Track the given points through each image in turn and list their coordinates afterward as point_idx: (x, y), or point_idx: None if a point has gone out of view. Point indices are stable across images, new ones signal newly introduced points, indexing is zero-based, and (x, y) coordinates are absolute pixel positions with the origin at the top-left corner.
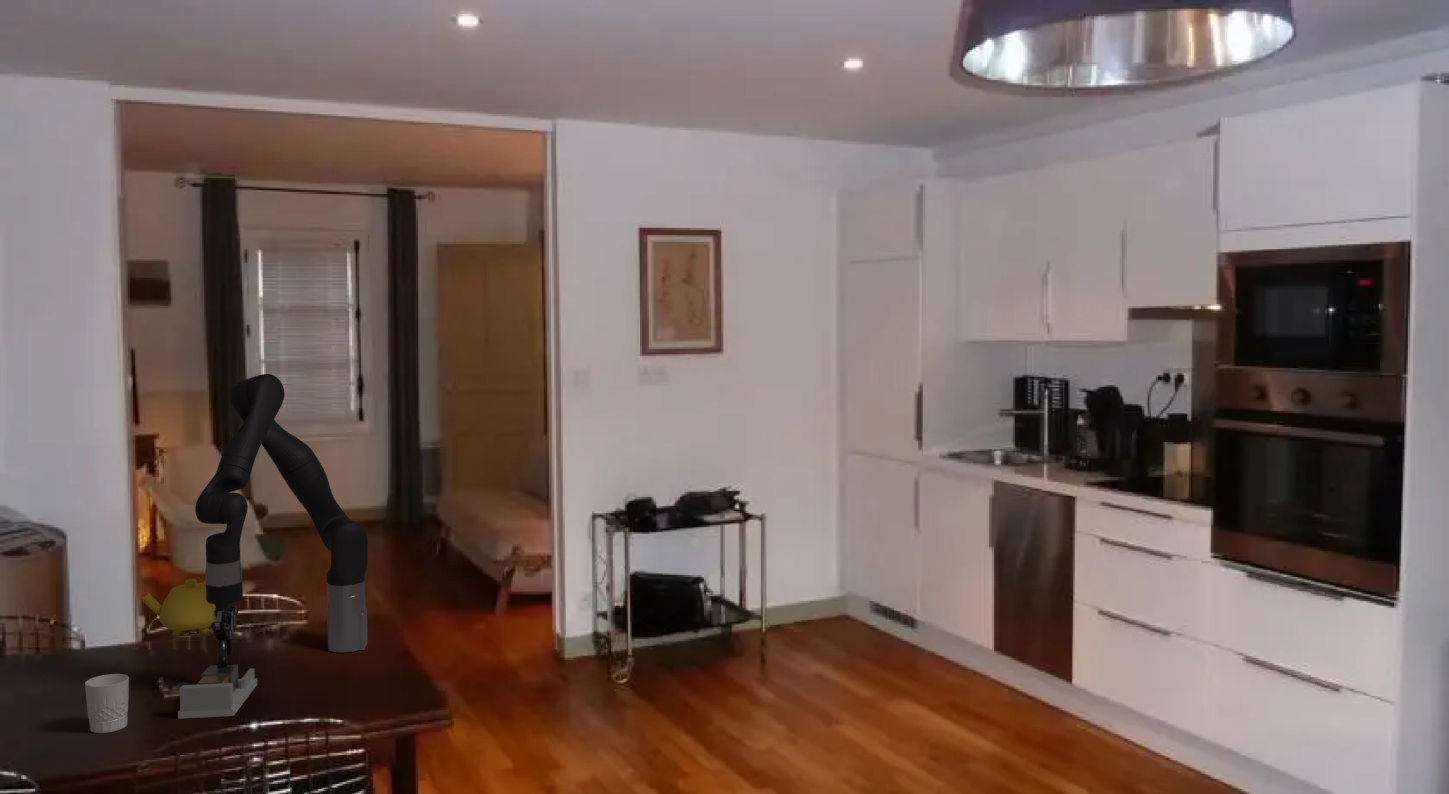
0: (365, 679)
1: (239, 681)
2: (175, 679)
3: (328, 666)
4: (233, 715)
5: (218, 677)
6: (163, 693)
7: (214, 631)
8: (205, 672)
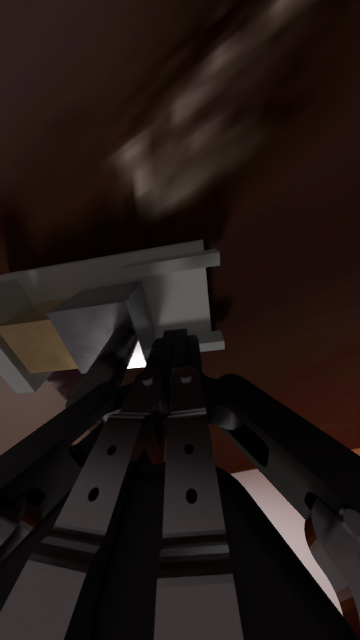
0: (222, 443)
1: (192, 321)
2: (287, 79)
3: (293, 402)
4: None
5: (53, 356)
6: (148, 123)
7: (12, 454)
8: (64, 317)
